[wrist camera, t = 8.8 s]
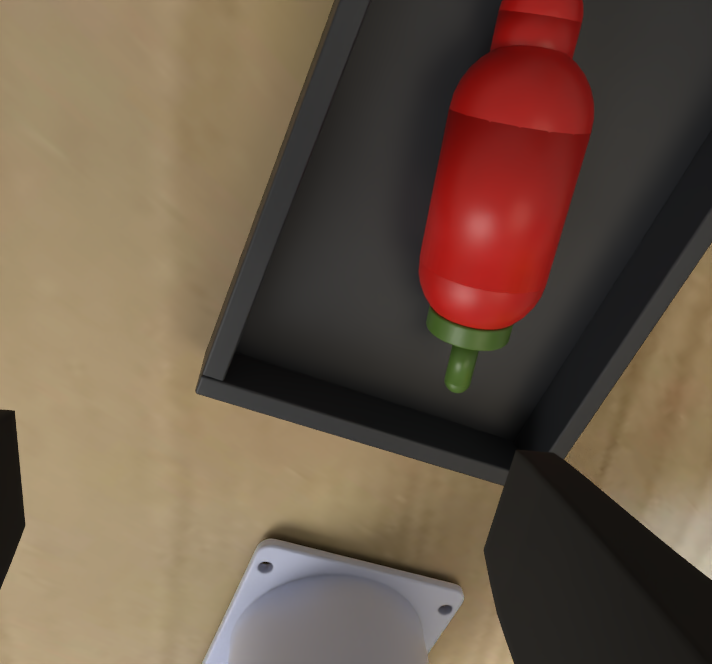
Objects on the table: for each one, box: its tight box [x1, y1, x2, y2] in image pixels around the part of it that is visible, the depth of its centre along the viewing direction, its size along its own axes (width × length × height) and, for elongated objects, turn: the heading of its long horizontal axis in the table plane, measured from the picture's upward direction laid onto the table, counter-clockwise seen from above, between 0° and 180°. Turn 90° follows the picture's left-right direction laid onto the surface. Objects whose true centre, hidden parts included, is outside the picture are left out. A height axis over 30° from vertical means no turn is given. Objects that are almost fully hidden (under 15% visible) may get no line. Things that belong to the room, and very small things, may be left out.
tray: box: [195, 0, 712, 486], centre depth 16 cm, size 15×11×2 cm
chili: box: [419, 0, 594, 393], centre depth 15 cm, size 10×3×3 cm, turn 172°
